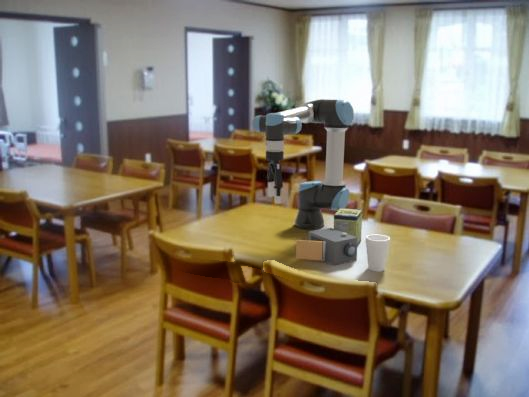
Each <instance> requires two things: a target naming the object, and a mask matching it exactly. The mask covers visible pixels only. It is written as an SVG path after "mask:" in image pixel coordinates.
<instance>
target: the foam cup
mask: <svg viewBox="0 0 529 397" xmlns="http://www.w3.org/2000/svg"><path fill="white" fill-rule="evenodd" d="M390 244H391V237H390V236H389V235H385V234H378V233H377V234H375V233H374V234H368V235H366V236H365V247H366V255H367V258H366V259H367V266H368V267H367V268H368V270H370V271H371V272H372V271H373V272H384V271H385V268H386V264H387V257H388V253H389V248H390Z"/></svg>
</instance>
